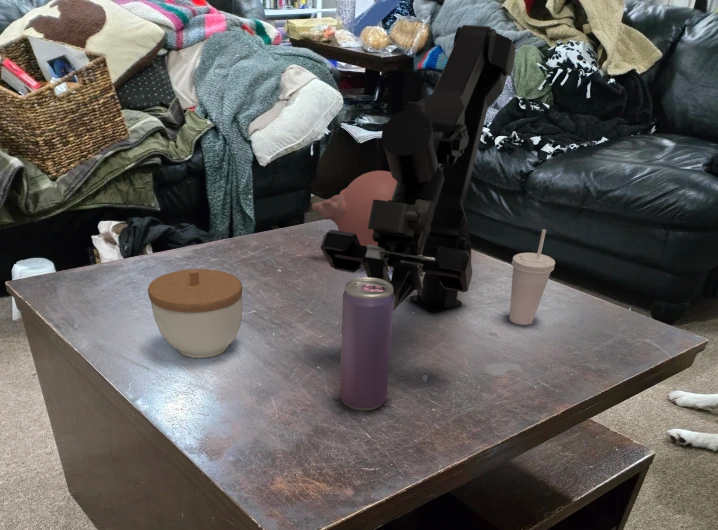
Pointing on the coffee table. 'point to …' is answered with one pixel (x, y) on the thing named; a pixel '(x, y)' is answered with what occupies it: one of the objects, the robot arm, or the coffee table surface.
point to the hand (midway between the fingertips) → (377, 324)
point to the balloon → (358, 204)
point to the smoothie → (529, 283)
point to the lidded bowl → (197, 310)
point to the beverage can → (366, 342)
